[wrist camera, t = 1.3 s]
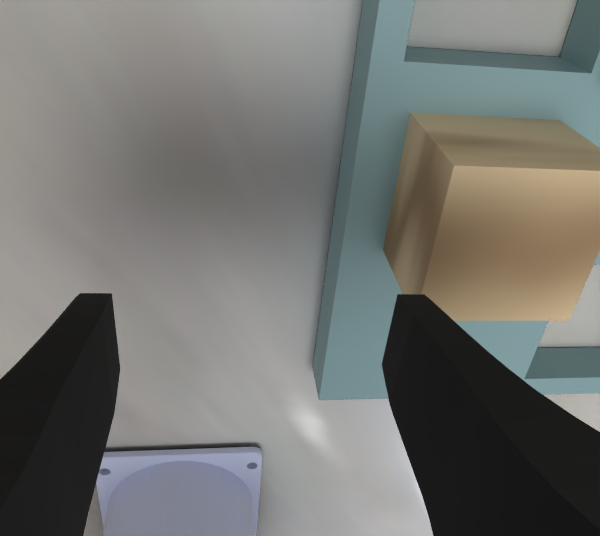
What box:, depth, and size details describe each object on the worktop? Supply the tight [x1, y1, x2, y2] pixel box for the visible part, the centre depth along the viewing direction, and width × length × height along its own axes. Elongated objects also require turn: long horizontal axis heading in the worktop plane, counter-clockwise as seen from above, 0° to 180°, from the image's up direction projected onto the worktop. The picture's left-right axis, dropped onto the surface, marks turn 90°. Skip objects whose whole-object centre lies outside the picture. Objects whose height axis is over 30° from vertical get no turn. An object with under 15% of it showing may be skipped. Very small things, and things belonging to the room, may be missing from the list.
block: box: [383, 112, 600, 321], centre depth 18 cm, size 5×5×4 cm
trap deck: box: [313, 0, 600, 400], centre depth 20 cm, size 20×16×5 cm
